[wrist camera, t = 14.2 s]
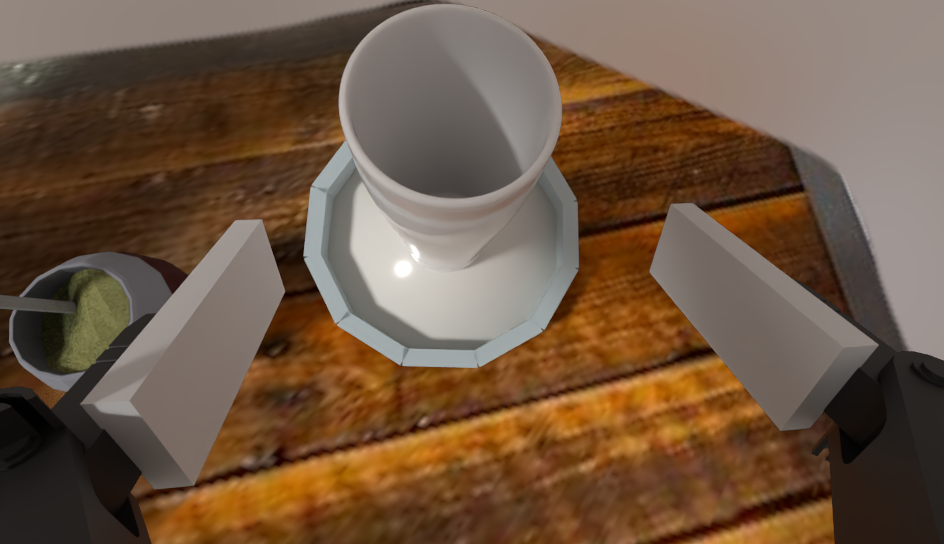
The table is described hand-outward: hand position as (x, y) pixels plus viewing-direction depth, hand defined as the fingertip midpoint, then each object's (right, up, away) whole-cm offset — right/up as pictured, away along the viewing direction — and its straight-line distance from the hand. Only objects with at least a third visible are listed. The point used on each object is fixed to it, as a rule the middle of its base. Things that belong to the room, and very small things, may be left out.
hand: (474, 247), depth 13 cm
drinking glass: (-2, +2, +13) cm, 14 cm away
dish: (-2, +2, +14) cm, 14 cm away
